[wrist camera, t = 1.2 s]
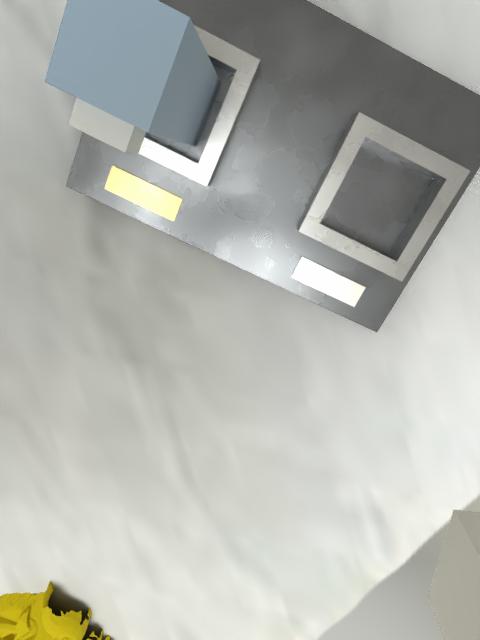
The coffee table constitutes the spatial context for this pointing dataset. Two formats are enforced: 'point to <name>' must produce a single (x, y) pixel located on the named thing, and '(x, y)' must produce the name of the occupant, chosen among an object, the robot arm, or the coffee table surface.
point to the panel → (303, 157)
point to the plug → (133, 72)
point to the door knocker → (39, 619)
